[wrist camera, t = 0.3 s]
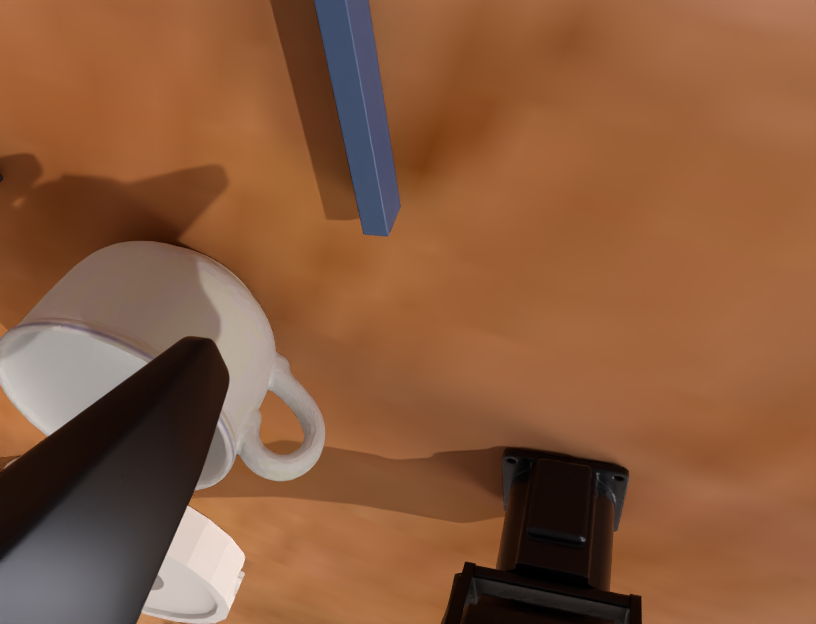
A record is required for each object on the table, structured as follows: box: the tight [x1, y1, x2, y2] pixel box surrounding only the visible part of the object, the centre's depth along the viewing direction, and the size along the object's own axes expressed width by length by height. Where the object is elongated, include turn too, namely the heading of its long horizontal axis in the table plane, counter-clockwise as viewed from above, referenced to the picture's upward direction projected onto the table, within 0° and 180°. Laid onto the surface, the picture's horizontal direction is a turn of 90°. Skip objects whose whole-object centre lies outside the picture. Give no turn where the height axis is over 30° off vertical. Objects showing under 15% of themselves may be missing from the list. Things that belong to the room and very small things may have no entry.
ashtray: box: [4, 456, 245, 624], centre depth 61 cm, size 23×23×4 cm
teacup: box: [0, 241, 325, 490], centre depth 32 cm, size 14×11×8 cm
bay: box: [0, 0, 401, 236], centre depth 24 cm, size 14×20×2 cm
